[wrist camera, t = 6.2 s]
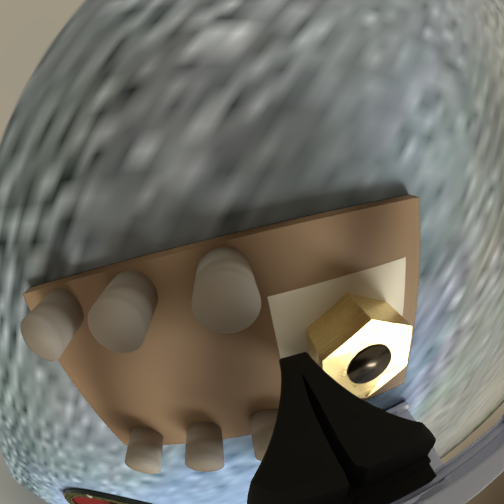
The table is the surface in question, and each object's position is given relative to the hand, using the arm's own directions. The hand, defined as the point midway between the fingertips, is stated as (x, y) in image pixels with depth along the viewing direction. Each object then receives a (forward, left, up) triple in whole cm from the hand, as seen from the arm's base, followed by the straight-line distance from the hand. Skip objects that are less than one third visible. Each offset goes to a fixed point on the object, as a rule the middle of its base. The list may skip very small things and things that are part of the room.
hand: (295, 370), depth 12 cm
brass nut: (-3, 0, -1) cm, 3 cm away
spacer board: (+2, 0, -2) cm, 3 cm away
